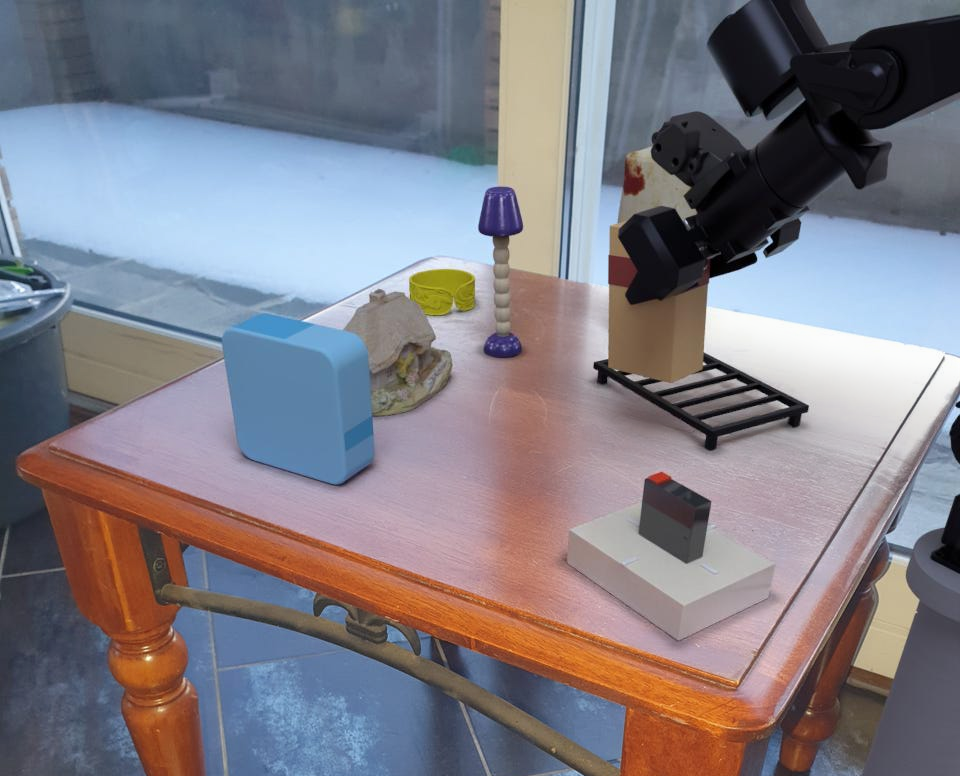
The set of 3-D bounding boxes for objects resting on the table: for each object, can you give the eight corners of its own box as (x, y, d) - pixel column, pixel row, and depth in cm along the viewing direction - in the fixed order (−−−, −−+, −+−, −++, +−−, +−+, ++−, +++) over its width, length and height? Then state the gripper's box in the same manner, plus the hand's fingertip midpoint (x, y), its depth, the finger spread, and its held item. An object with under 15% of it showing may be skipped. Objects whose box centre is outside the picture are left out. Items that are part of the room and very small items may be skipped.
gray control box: (702, 556, 70) (712, 497, 68) (686, 563, 70) (695, 504, 67) (654, 527, 74) (661, 469, 71) (638, 533, 73) (644, 475, 70)
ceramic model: (379, 427, 94) (373, 323, 88) (296, 398, 99) (284, 297, 93) (470, 380, 103) (470, 283, 97) (389, 356, 108) (384, 262, 102)
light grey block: (769, 597, 72) (777, 560, 70) (677, 641, 67) (683, 603, 66) (654, 527, 79) (659, 492, 78) (565, 563, 75) (567, 527, 73)
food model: (598, 340, 112) (613, 146, 100) (621, 322, 117) (638, 135, 105) (679, 356, 108) (705, 157, 96) (700, 337, 113) (727, 145, 101)
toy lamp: (483, 359, 108) (484, 195, 98) (473, 344, 111) (473, 184, 101) (526, 356, 109) (531, 193, 98) (515, 340, 112) (518, 182, 102)
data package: (377, 468, 87) (368, 334, 80) (346, 489, 84) (334, 352, 77) (271, 437, 92) (253, 309, 85) (238, 457, 89) (217, 325, 82)
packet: (639, 354, 91) (643, 215, 85) (703, 369, 87) (713, 223, 80) (607, 368, 89) (608, 225, 82) (671, 384, 84) (678, 234, 78)
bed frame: (804, 426, 95) (809, 405, 93) (708, 453, 90) (712, 431, 89) (681, 361, 108) (683, 341, 106) (592, 381, 103) (593, 361, 102)
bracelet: (399, 301, 123) (398, 274, 121) (456, 291, 126) (456, 265, 124) (426, 319, 118) (425, 291, 116) (485, 308, 121) (485, 280, 119)
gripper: (793, 63, 77) (662, 191, 90) (652, 91, 67) (525, 232, 79) (865, 187, 78) (724, 298, 90) (736, 235, 67) (596, 353, 80)
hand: (646, 292), depth 85 cm, fingers closed on packet, 4 cm apart
